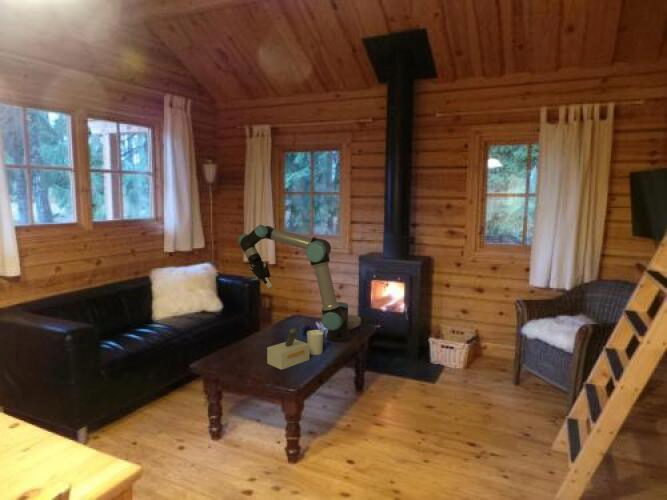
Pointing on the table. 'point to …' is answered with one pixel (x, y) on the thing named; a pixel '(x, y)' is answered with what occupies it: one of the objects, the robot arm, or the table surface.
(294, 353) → the beige rectangular box
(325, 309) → the robot arm
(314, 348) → the candle holder
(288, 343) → the lever
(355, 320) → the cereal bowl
